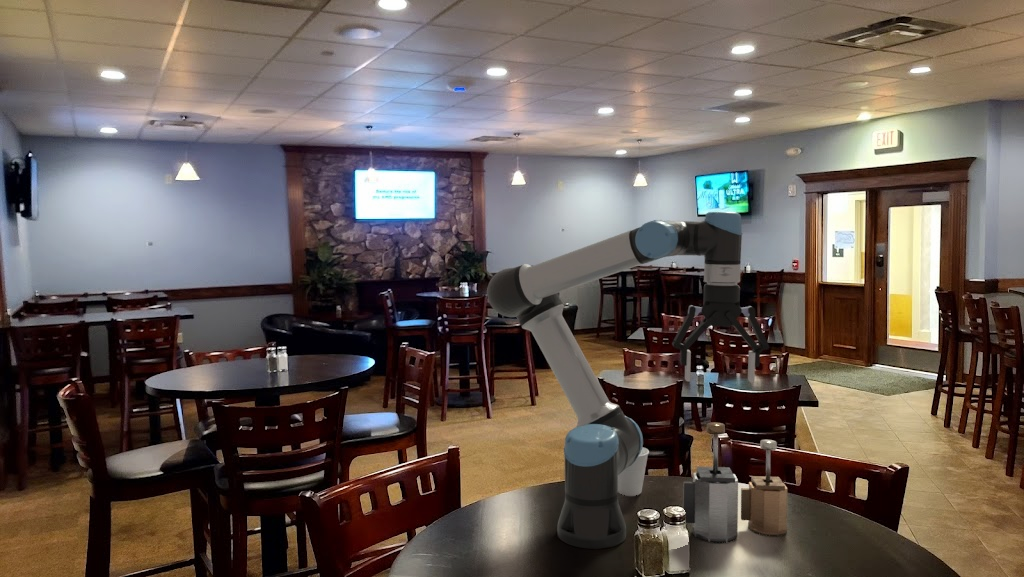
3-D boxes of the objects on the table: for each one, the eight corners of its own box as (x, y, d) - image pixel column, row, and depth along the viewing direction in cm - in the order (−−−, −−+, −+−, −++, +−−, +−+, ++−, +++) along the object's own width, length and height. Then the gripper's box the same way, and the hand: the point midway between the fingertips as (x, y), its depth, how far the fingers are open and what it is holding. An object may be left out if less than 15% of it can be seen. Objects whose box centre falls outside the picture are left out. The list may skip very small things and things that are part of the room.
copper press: (781, 522, 166) (782, 475, 165) (790, 537, 158) (791, 488, 157) (737, 520, 167) (738, 474, 167) (744, 535, 159) (745, 486, 159)
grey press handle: (757, 494, 159) (757, 445, 159) (751, 485, 165) (752, 437, 164) (784, 495, 159) (785, 446, 158) (778, 486, 164) (779, 438, 164)
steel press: (733, 526, 164) (734, 465, 163) (741, 544, 155) (741, 480, 154) (681, 524, 166) (681, 464, 165) (685, 542, 156) (686, 478, 155)
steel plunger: (701, 487, 156) (701, 428, 155) (697, 476, 163) (697, 420, 162) (734, 488, 155) (735, 429, 154) (729, 477, 162) (729, 420, 161)
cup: (609, 498, 183) (609, 455, 182) (610, 484, 192) (610, 444, 191) (649, 500, 181) (649, 457, 180) (648, 486, 191) (648, 445, 190)
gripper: (665, 284, 154) (663, 383, 156) (786, 285, 152) (782, 385, 154) (661, 281, 161) (659, 376, 163) (776, 283, 159) (773, 378, 161)
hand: (719, 381), depth 158 cm, fingers open, 13 cm apart
